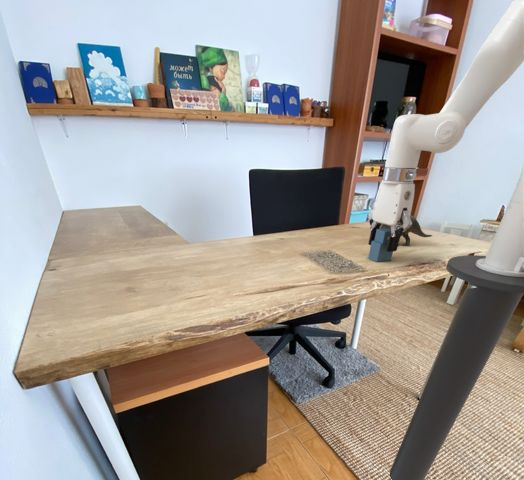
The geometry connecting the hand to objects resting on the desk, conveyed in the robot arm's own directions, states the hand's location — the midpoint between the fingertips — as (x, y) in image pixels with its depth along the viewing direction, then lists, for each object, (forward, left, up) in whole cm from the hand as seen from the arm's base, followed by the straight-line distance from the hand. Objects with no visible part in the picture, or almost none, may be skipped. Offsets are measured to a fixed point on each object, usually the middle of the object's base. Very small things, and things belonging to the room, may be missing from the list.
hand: (381, 247), depth 84 cm
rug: (+2, +15, -3) cm, 16 cm away
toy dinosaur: (+14, -17, -4) cm, 22 cm away
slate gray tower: (0, 0, -3) cm, 3 cm away
